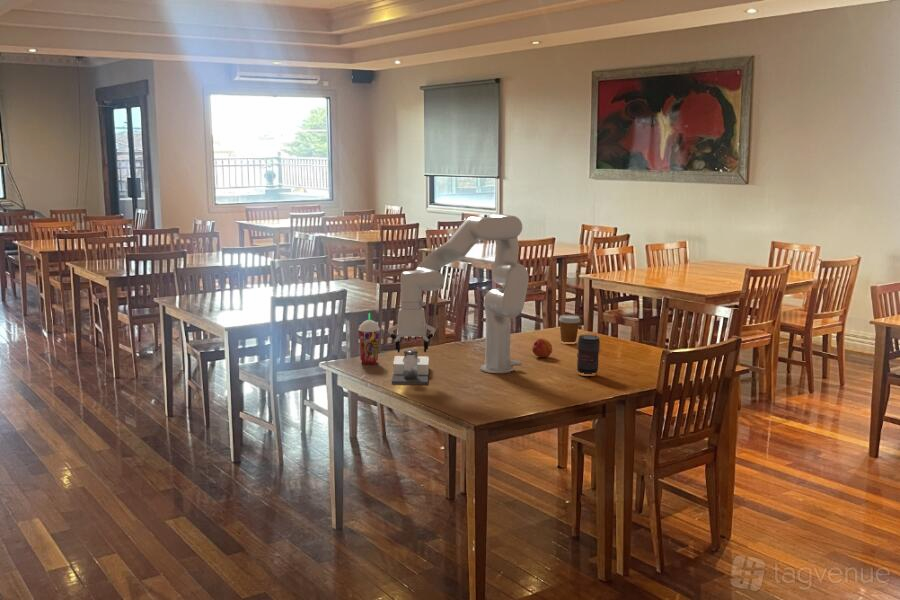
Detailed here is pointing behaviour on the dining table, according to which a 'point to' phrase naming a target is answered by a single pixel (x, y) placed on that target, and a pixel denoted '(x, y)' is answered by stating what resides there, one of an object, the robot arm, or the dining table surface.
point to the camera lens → (588, 354)
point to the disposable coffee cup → (569, 327)
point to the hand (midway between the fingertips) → (411, 351)
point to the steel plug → (410, 364)
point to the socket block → (422, 365)
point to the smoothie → (369, 341)
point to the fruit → (542, 348)
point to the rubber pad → (400, 380)
